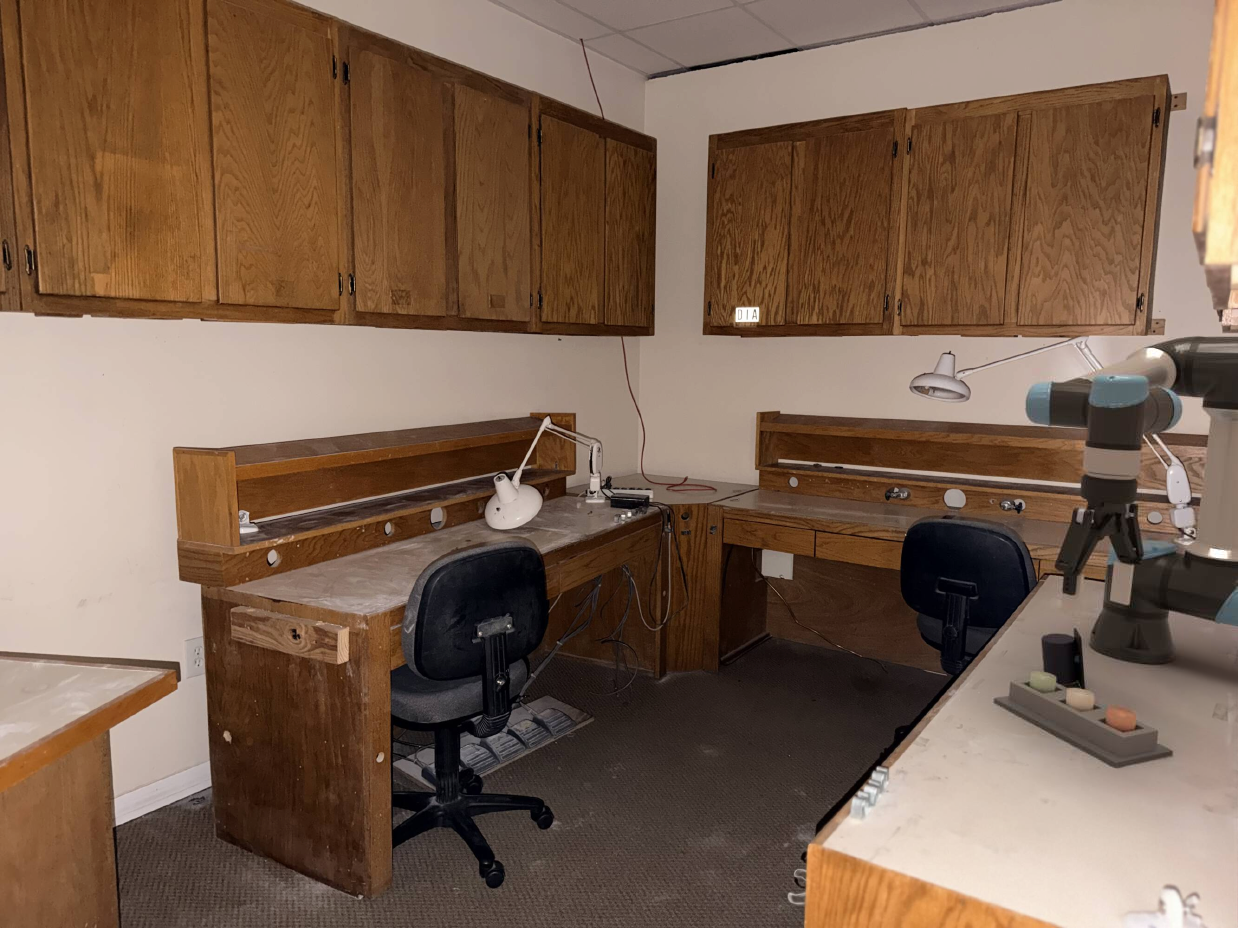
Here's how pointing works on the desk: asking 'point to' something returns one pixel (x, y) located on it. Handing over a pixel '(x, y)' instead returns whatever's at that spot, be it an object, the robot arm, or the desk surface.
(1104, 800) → the desk surface
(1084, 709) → the cream button
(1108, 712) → the terracotta button
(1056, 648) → the speaker
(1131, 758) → the control panel
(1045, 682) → the sage button
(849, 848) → the desk surface
